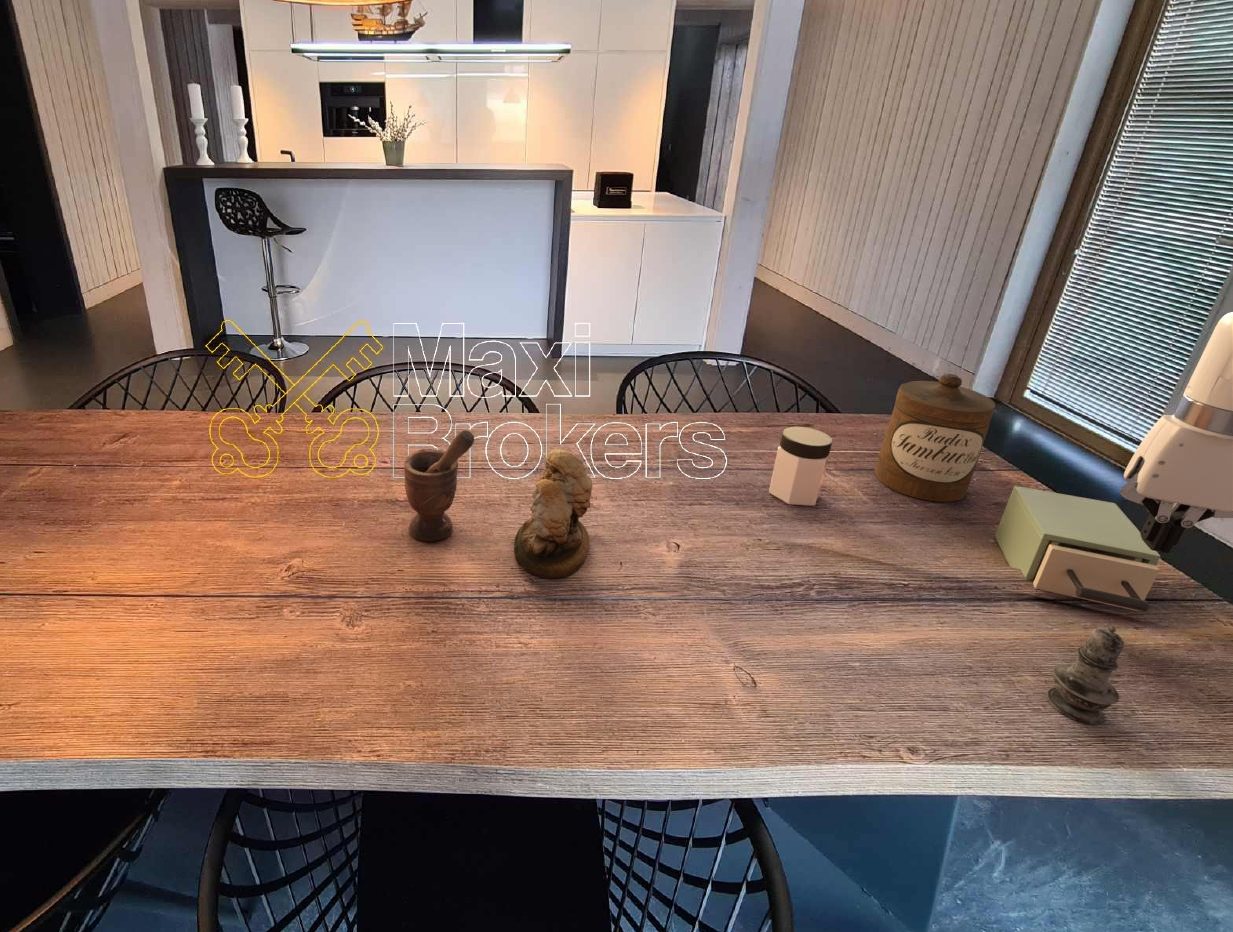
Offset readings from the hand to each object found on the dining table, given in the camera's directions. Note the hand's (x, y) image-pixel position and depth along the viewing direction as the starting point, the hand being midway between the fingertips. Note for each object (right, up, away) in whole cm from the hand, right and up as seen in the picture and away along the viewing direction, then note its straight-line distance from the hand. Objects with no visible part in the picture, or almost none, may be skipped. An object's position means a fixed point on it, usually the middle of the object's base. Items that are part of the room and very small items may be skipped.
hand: (1154, 545), depth 86 cm
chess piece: (-17, -18, -7) cm, 25 cm away
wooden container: (-2, +3, +42) cm, 42 cm away
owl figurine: (-75, -5, +22) cm, 78 cm away
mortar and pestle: (-93, -3, +25) cm, 96 cm away
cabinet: (+2, -8, +17) cm, 19 cm away
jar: (-28, +1, +37) cm, 47 cm away
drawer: (0, -9, +12) cm, 15 cm away
